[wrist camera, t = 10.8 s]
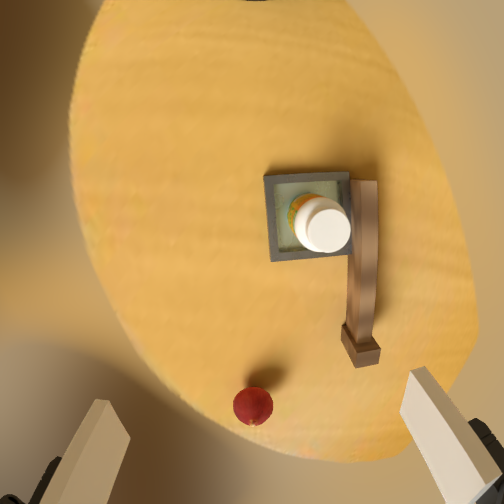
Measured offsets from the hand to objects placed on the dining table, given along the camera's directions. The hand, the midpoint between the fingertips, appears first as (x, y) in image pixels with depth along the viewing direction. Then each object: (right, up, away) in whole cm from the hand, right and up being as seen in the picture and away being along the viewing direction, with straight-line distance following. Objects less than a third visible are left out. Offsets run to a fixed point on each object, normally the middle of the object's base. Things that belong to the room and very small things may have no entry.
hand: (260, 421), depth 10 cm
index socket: (+6, +11, +24) cm, 27 cm away
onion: (0, -14, +31) cm, 34 cm away
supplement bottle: (+6, +11, +24) cm, 27 cm away
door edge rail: (+13, +6, +26) cm, 29 cm away
